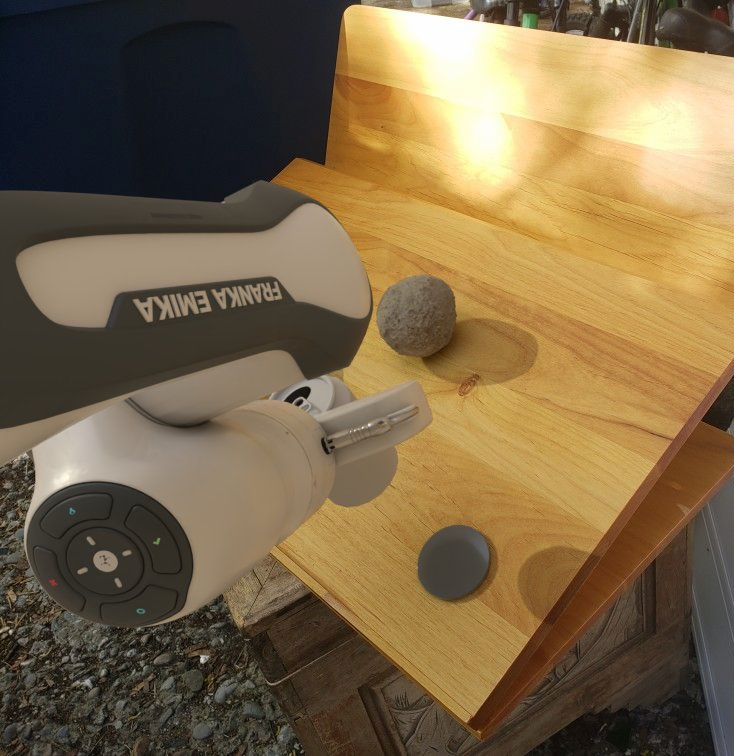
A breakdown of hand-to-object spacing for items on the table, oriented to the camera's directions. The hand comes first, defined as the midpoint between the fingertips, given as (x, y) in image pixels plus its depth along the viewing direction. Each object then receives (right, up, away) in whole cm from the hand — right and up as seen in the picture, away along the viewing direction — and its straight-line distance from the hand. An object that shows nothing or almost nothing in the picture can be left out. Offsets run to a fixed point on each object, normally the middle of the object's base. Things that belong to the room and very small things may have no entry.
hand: (328, 430), depth 58 cm
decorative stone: (+6, +9, +29) cm, 31 cm away
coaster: (+10, -14, +10) cm, 20 cm away
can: (+2, -4, +5) cm, 7 cm away
